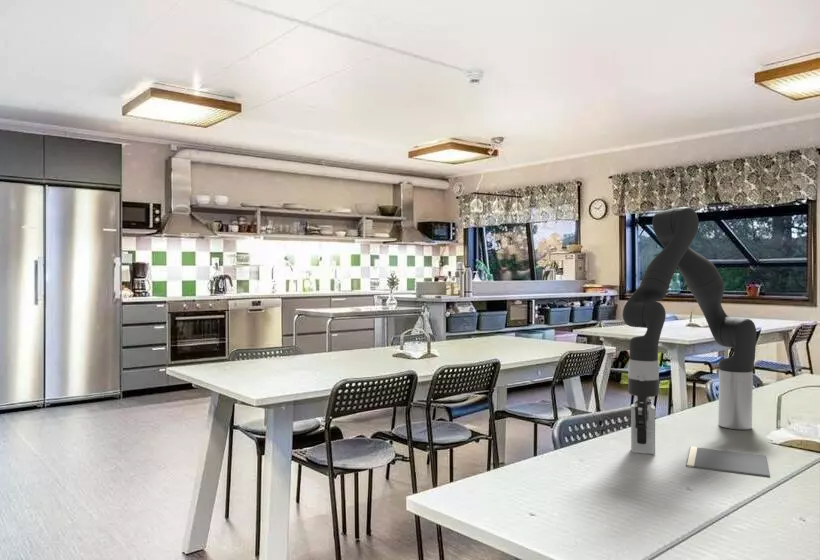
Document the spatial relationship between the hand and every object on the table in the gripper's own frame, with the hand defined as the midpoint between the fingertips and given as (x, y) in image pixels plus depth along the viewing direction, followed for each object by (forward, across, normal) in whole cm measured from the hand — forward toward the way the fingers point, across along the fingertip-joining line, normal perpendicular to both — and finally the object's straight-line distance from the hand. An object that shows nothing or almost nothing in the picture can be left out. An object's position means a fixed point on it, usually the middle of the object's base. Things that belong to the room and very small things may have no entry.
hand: (642, 440), depth 172 cm
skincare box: (+3, 0, 0) cm, 3 cm away
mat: (+3, 0, +20) cm, 20 cm away
